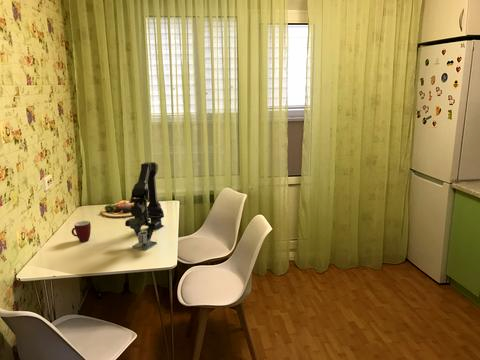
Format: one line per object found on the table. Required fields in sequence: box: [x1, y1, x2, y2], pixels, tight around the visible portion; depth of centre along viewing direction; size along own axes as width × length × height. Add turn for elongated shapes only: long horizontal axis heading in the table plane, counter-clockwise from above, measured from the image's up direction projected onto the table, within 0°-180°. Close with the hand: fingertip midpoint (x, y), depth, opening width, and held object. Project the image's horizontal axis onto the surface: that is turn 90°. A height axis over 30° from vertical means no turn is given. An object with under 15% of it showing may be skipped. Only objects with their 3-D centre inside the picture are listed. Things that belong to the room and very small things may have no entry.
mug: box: [71, 220, 92, 243], centre depth 213 cm, size 10×8×10 cm
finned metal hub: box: [131, 240, 158, 251], centre depth 204 cm, size 9×9×6 cm
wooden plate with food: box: [100, 197, 149, 219], centre depth 266 cm, size 32×32×8 cm
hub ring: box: [137, 230, 152, 244], centre depth 204 cm, size 6×6×4 cm
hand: (144, 239), depth 204 cm, fingers closed on hub ring, 6 cm apart
